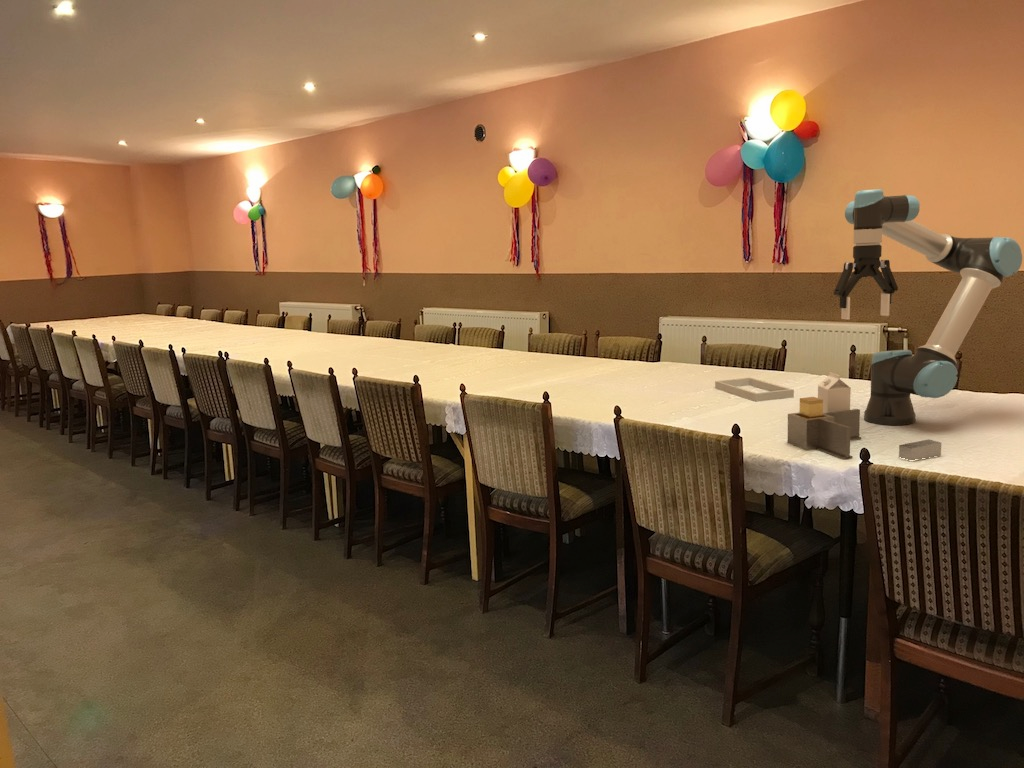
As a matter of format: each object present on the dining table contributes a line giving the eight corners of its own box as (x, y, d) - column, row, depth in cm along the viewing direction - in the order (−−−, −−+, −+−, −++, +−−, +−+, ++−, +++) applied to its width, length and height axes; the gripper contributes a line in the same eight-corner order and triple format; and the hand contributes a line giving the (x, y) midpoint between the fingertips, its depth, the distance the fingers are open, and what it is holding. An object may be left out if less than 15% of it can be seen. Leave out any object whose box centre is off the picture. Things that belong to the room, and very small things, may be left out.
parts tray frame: (750, 384, 317) (750, 377, 317) (793, 397, 288) (793, 389, 288) (715, 388, 313) (715, 381, 313) (755, 401, 284) (755, 393, 284)
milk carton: (838, 429, 238) (840, 371, 235) (849, 435, 231) (851, 374, 228) (816, 431, 238) (818, 372, 235) (826, 436, 231) (828, 376, 228)
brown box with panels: (847, 434, 232) (848, 406, 230) (898, 451, 212) (899, 420, 210) (787, 442, 227) (787, 413, 225) (833, 460, 207) (834, 429, 205)
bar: (928, 453, 210) (928, 439, 209) (940, 456, 206) (941, 442, 205) (898, 459, 206) (899, 445, 205) (911, 462, 202) (911, 448, 202)
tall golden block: (812, 441, 226) (813, 396, 224) (822, 445, 222) (823, 399, 220) (799, 443, 225) (799, 398, 223) (808, 447, 221) (809, 401, 218)
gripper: (894, 242, 224) (891, 313, 228) (821, 247, 218) (820, 319, 222) (913, 241, 217) (910, 315, 221) (838, 246, 211) (837, 321, 215)
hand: (865, 317), depth 221 cm, fingers open, 13 cm apart
